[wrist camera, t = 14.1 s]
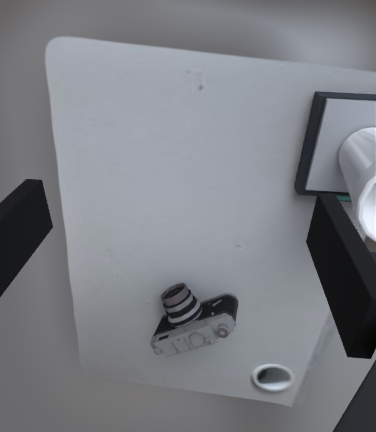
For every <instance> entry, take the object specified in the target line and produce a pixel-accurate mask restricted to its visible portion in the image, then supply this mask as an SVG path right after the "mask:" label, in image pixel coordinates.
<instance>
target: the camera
mask: <svg viewBox="0 0 376 432" xmlns="http://www.w3.org/2000/svg"><path fill="white" fill-rule="evenodd" d="M161 299H162V301H163V302H164V304H163V305H164V307H165V308H166V313H167V314H166V315H164V316H163V317H162V319H161V321H160V323H159V325H158V327H157V329H156V331H155V333H154V335H153V337H152V339H151V341H150V342H151V347H152V348H153V349H154V353H155V354H157V355H159V354H161V353H164V355H165V356H166V357H168V356H171V355H175V354H179V353H181V352H185V351H188V350H192V349H195V348H198V347H202V346H205V345H213V344H214V343H215V342H217V341H218V337H221V338H226V337H227V336H228V334H230V333H231V332H233V331H234V327H235V324H236V323H235V320H236V314H237V308H238V300H237V298H236V296H234V295H232V294H224V295H221V296H218V297H215V298H212V299H209V300H206V301H203V302H201V303H200V301H198V300H196V298H195V297H194V296H193V295H192V294H191V291H190V290H189V289H187V287H186V285H185V284H184V283H181V284H177V285H174V286H172V287H171V288H169V289H168V290H166V291H165V292H164V293H163V294H162V296H161Z"/></svg>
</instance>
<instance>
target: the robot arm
mask: <svg viewBox="0 0 376 432" xmlns="http://www.w3.org/2000/svg"><path fill="white" fill-rule="evenodd" d="M52 228H53V225H52V221H51V217H50V213H49V209H48V204H47V200H46V196H45V191H44V187H43V183H42V180H35V179H26V180H25V181H24V182H23V183H22V184H21V185H19V186H18V187H17V188H16V189H15V190H14V191H13V192H12V193H11V194H9V195H8V196H7V197H6V198H5V199H4V200H3V201H2V202H1V203H0V297H1V295H2V294H3V293H4V291H5V290H6V289H7V287H8V286H9V285H10V283H11V282H12V281H13V280H14V278H15V277H16V276H17V274H18V273H19V271H20V270H21V269H22V267H23V266H24V265H25V264H26V262H27V261H28V260H29V258H30V257H31V256H32V254H33V253H34V252H35V250H36V249H37V248H38V246H39V245H40V244H41V242H42V241H43V239H44V238H45V237H46V236H47V234H48V233H49V232H50V230H51V229H52ZM306 243H307V245H308V248H309V251H310V254H311V257H312V259H313V262H314V265H315V268H316V271H317V273H318V276H319V279H320V282H321V284H322V287H323V290H324V293H325V296H326V298H327V301H328V304H329V307H330V310H331V312H332V315H333V318H334V321H335V323H336V326H337V329H338V332H339V335H340V337H341V340H342V343H343V346H344V349H345V351H346V354H347V357H353V358H366V359H371V357H372V355H373V353H374V351H375V349H376V252H369V250H368V249H367V247H366V245H365V244H364V242H363V240H362V239H361V237H360V235H359V234H358V232H357V230H356V229H355V227H354V225H353V224H352V222H351V220H350V219H349V217H348V215H347V214H346V212H345V210H344V209H343V207H342V205H341V204H340V202H339V200H338V199H337V197H336V195H335V194H321V193H318V195H317V199H316V203H315V207H314V211H313V216H312V220H311V224H310V228H309V232H308V236H307V240H306ZM333 432H376V360H375V362H374V364H373V365H372V367H371V369H370V370H369V372H368V374H367V376H366V377H365V379H364V381H363V382H362V384H361V386H360V387H359V389H358V390H357V392H356V394H355V395H354V397H353V399H352V400H351V402H350V404H349V405H348V407H347V409H346V411H345V412H344V414H343V415H342V417H341V419H340V421H339V422H338V424H337V425H336V427H335V429H334V430H333Z"/></svg>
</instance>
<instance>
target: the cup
mask: <svg viewBox="0 0 376 432" xmlns="http://www.w3.org/2000/svg"><path fill="white" fill-rule="evenodd" d="M339 164H340V167H341V170H342V173H343V176H344V179H345V182H346V185H347V188H348V191H349V194H350V197H351V200H352V204H353V207H352V209H353V211H354V214H355V216H356V219H357V221H358V223H359V225H360V227H361V229H362V231H363V233H364V234H365V235H367V236H368V237H369V238H371V239H372V240H374V241H375V242H376V128H374V127H371V128H364V129H361V130H359V131H357V132H355V133H353V134H351V135H350V136H349V137H348V138H347V139H346V140H345V141H344V142H343V144H342V147H341V149H340V151H339Z"/></svg>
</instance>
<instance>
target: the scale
mask: <svg viewBox="0 0 376 432" xmlns="http://www.w3.org/2000/svg"><path fill="white" fill-rule="evenodd" d="M371 127H374V128H376V95H373V94H354V93H334V92H315V95H314V99H313V104H312V108H311V113H310V117H309V122H308V127H307V131H306V136H305V140H304V145H303V149H302V154H301V158H300V163H299V167H298V172H297V176H296V181H295V186H294V187H295V189H296V192H297V194H298V195H312V196H317V195H318V193H321V194H335V195H336V197H337V199H338V200H339V201H350V202H352V200H351V197H350V194H349V191H348V188H347V185H346V182H345V179H344V176H343V173H342V170H341V167H340V164H339V151H340V149H341V147H342V144H343V142H344V141H345V140H346V139H347V138H348V137H349V136H350V135H351V134H353V133H355V132H357V131H359V130H361V129H364V128H371Z"/></svg>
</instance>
